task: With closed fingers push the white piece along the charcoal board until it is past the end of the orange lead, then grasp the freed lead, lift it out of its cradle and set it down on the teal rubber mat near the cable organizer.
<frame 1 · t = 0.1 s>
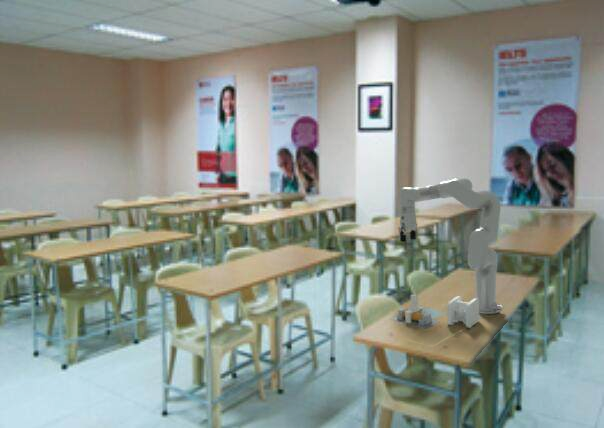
hand: (408, 240, 284), 31 cm above the table, tool pointing down, fingers open, 9 cm apart
lead: (414, 320, 243), point 1 cm above the table, touching board
white piece: (414, 307, 243), point 7 cm above the table, slide at 0.0 cm
mat: (423, 313, 255), on the table
cable organizer: (462, 324, 238), on the table
board: (414, 321, 243), on the table
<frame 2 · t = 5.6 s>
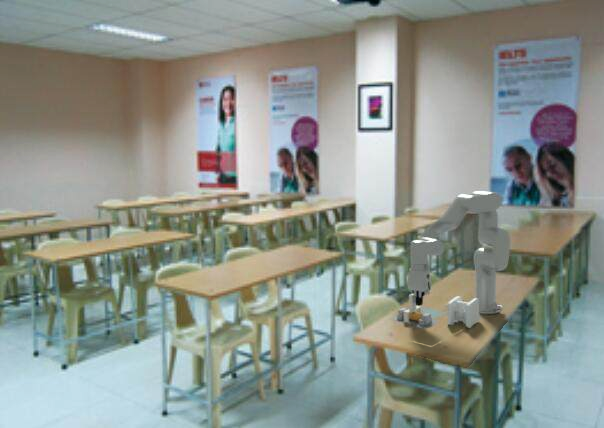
hand: (419, 304, 240), 9 cm above the table, tool pointing down, fingers closed
white piece: (412, 307, 243), point 7 cm above the table, slide at 1.0 cm, touching gripper
everything else where it was.
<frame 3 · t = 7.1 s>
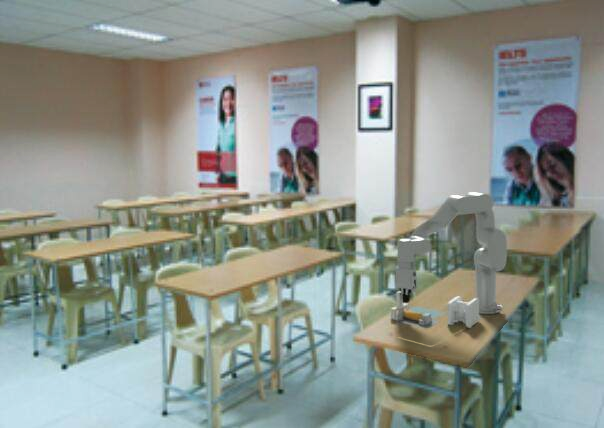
hand: (406, 302, 245), 9 cm above the table, tool pointing down, fingers closed
white piece: (399, 304, 248), point 7 cm above the table, slide at 8.2 cm, touching gripper
everything else where it was.
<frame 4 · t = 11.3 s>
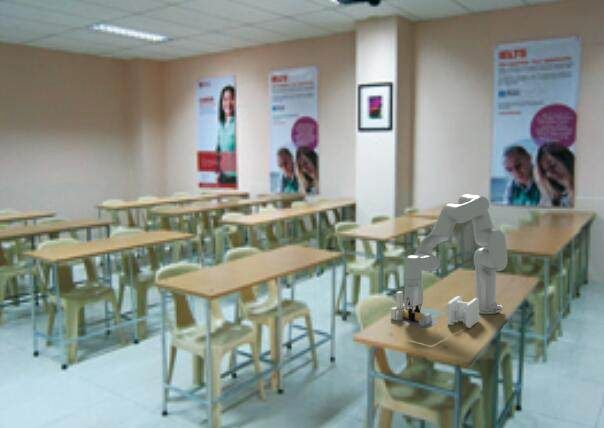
hand: (414, 318, 243), 1 cm above the table, tool pointing down, fingers closed on lead, 4 cm apart
lead: (414, 320, 243), point 1 cm above the table, touching board, gripper
white piece: (399, 304, 248), point 7 cm above the table, slide at 8.2 cm
everything else where it was.
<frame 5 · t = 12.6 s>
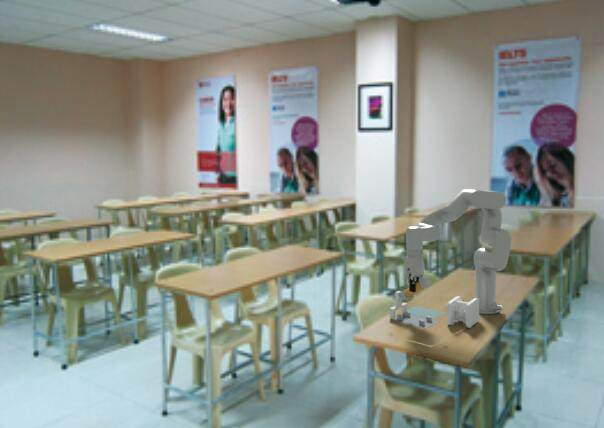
hand: (415, 290, 243), 15 cm above the table, tool pointing down, fingers closed on lead, 4 cm apart
lead: (417, 293, 242), point 14 cm above the table, tilted 38°, touching gripper
white piece: (398, 303, 249), point 7 cm above the table, slide at 8.9 cm
everything else where it was.
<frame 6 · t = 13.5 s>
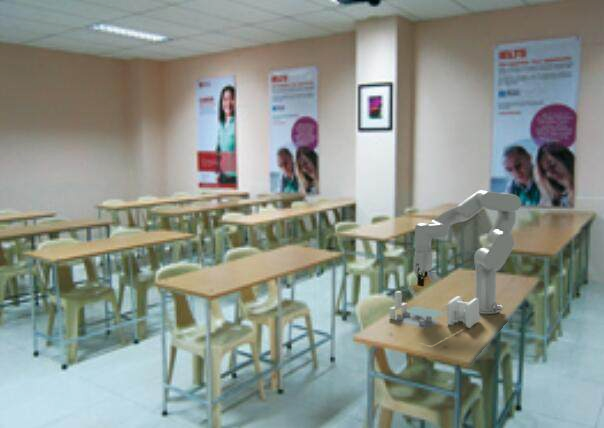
hand: (423, 284, 253), 15 cm above the table, tool pointing down, fingers closed on lead, 4 cm apart
lead: (425, 287, 252), point 14 cm above the table, tilted 38°, touching gripper
everything else where it was.
when the fingers open (2 cm above the table, at t = 16.1 s): lead drops 2 cm, resting on mat.
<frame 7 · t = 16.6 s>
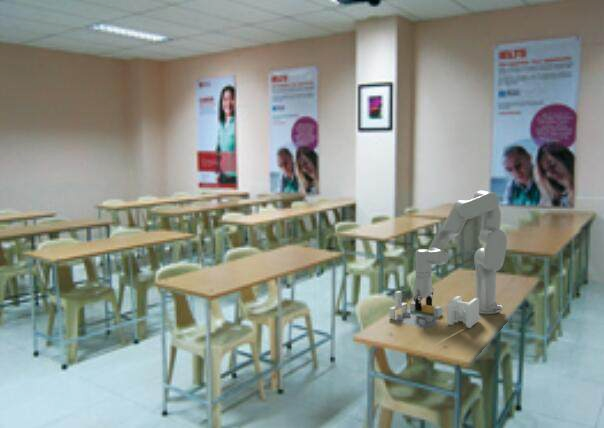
hand: (423, 308, 254), 3 cm above the table, tool pointing down, fingers open, 9 cm apart
lead: (426, 313, 253), point 1 cm above the table, touching mat
everything else where it was.
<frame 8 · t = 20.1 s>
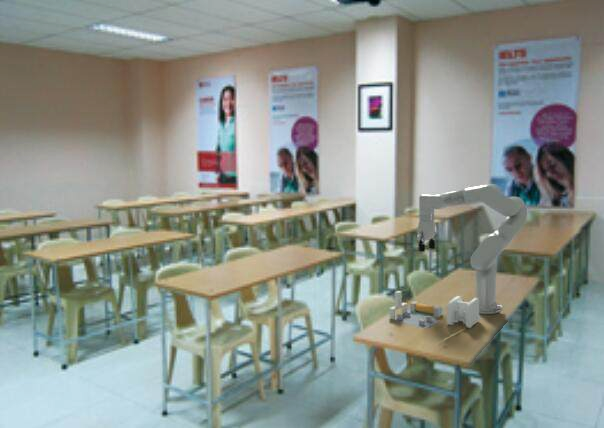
hand: (427, 249, 270), 28 cm above the table, tool pointing down, fingers open, 9 cm apart
nothing on the table moved.
at the end: lead inside the target area on the mat (1.4 cm from its centre), point 0.6 cm above the mat's base; white piece slide at 9.0 cm; the gripper is holding nothing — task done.
